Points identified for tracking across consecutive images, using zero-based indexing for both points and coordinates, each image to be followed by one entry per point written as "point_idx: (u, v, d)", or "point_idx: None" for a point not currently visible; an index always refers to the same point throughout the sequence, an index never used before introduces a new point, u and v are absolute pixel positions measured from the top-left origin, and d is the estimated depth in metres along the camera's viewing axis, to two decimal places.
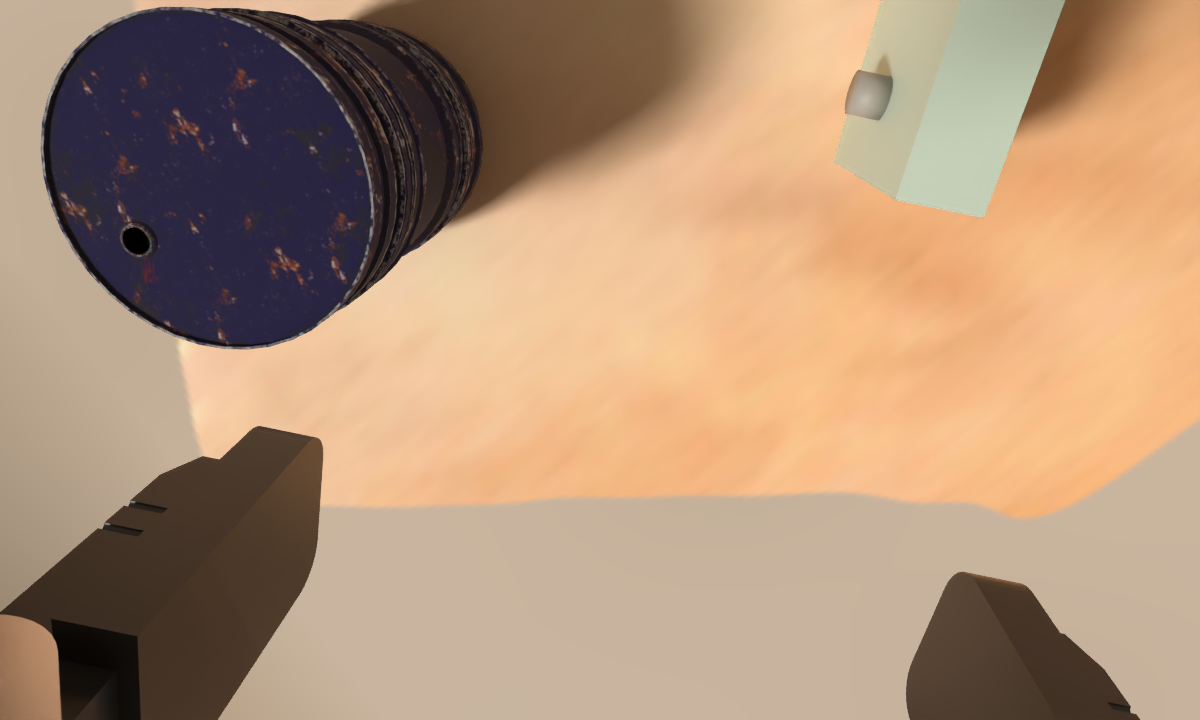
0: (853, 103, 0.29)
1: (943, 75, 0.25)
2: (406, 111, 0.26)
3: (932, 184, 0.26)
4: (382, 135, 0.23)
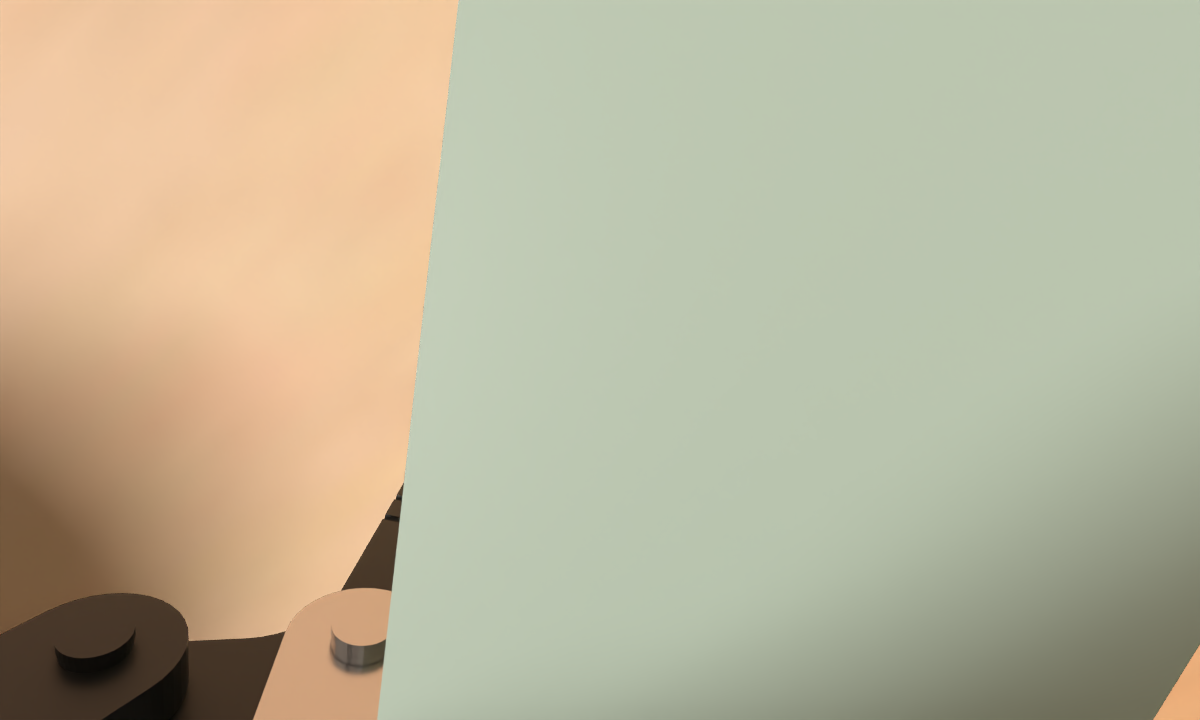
0: None
1: None
2: None
3: None
4: None
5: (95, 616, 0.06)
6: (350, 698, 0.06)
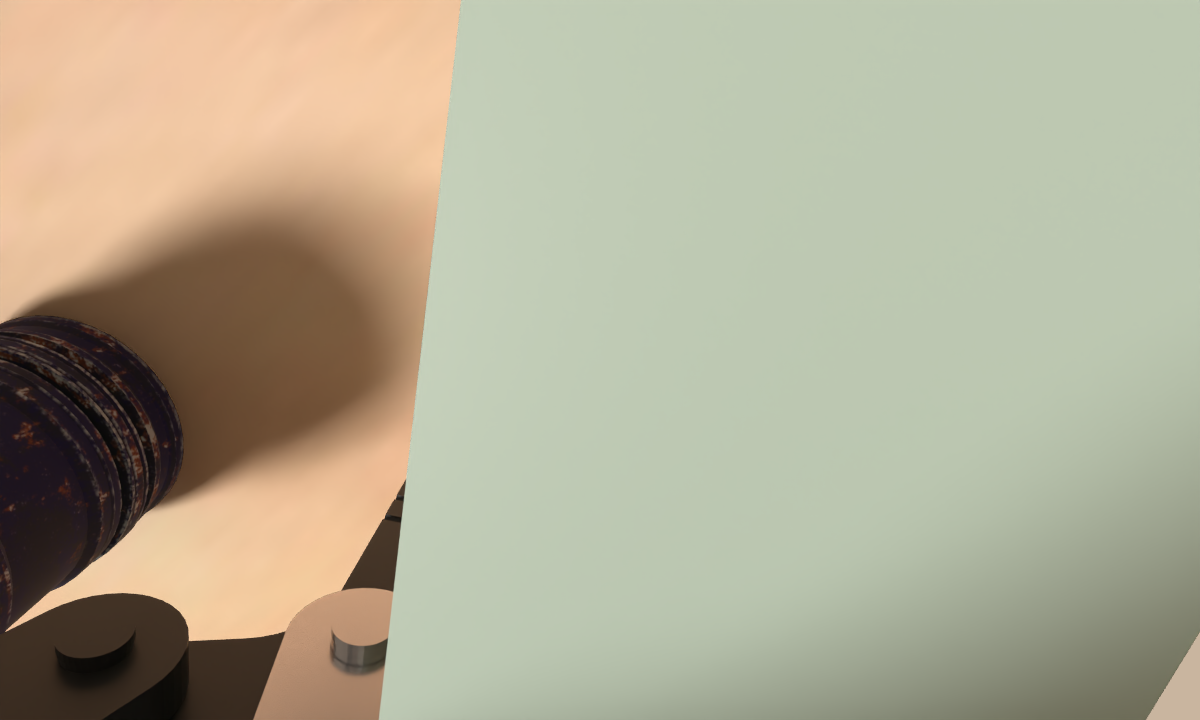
0: None
1: None
2: None
3: None
4: None
5: (95, 616, 0.06)
6: (350, 698, 0.06)
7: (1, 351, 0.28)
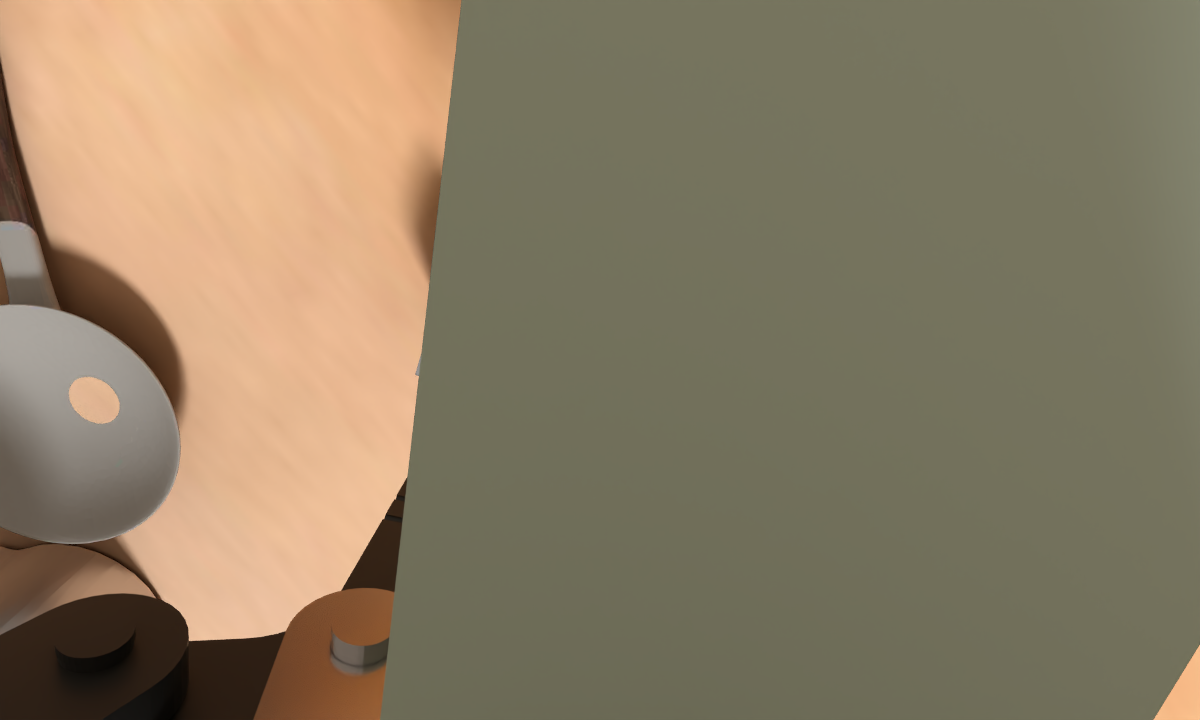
0: None
1: None
2: None
3: None
4: None
5: (96, 616, 0.06)
6: (351, 700, 0.06)
7: None
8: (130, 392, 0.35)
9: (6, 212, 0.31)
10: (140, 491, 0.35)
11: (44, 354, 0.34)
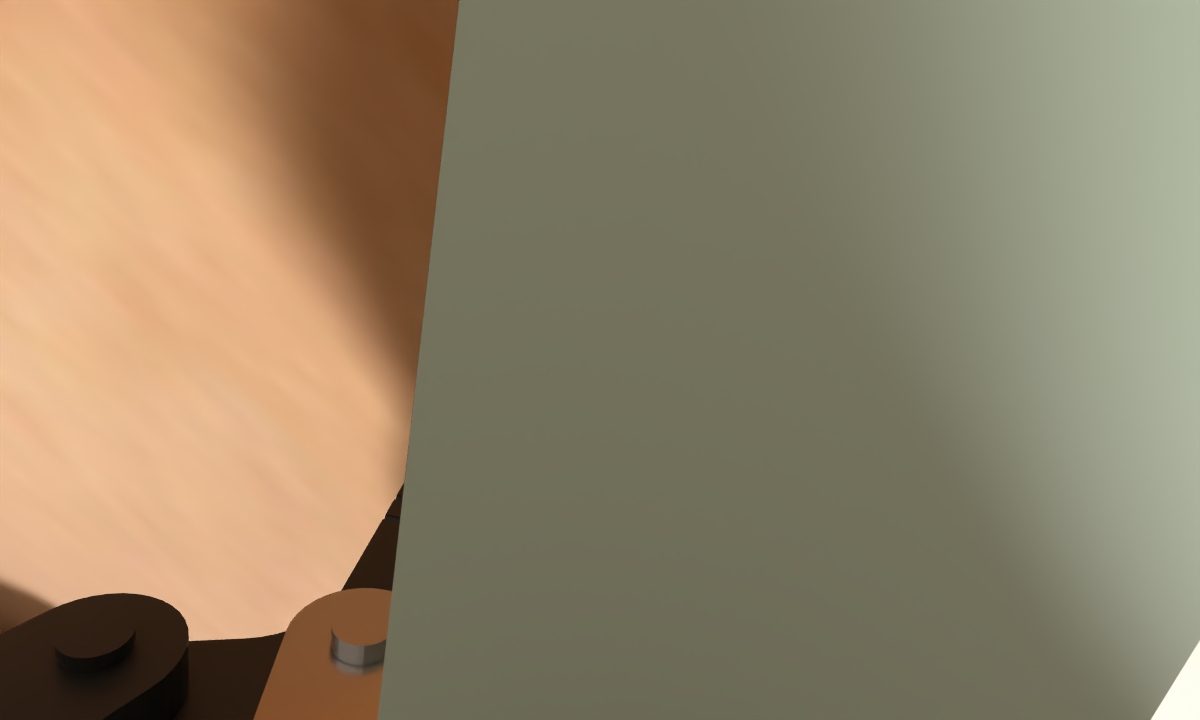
0: None
1: None
2: None
3: None
4: None
5: (96, 617, 0.06)
6: (351, 698, 0.06)
7: None
8: None
9: None
10: None
11: None
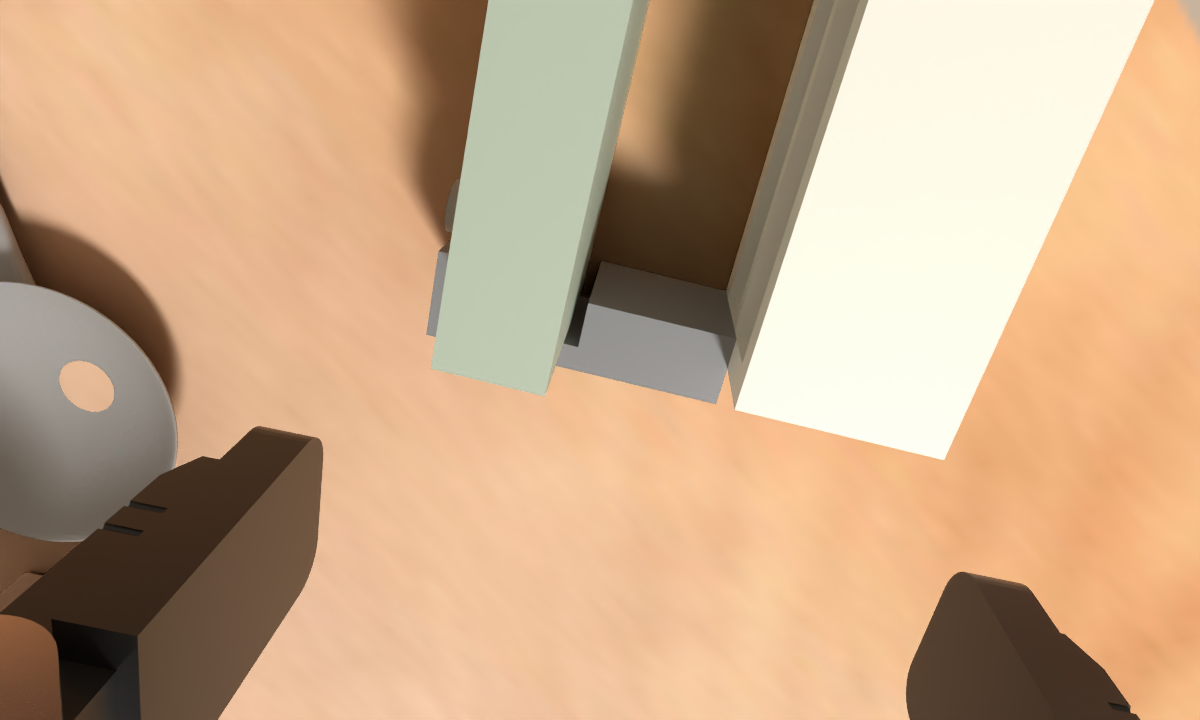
0: None
1: (463, 220, 0.19)
2: None
3: (474, 352, 0.20)
4: None
5: None
6: None
7: None
8: (122, 374, 0.32)
9: None
10: (143, 479, 0.32)
11: (28, 339, 0.32)
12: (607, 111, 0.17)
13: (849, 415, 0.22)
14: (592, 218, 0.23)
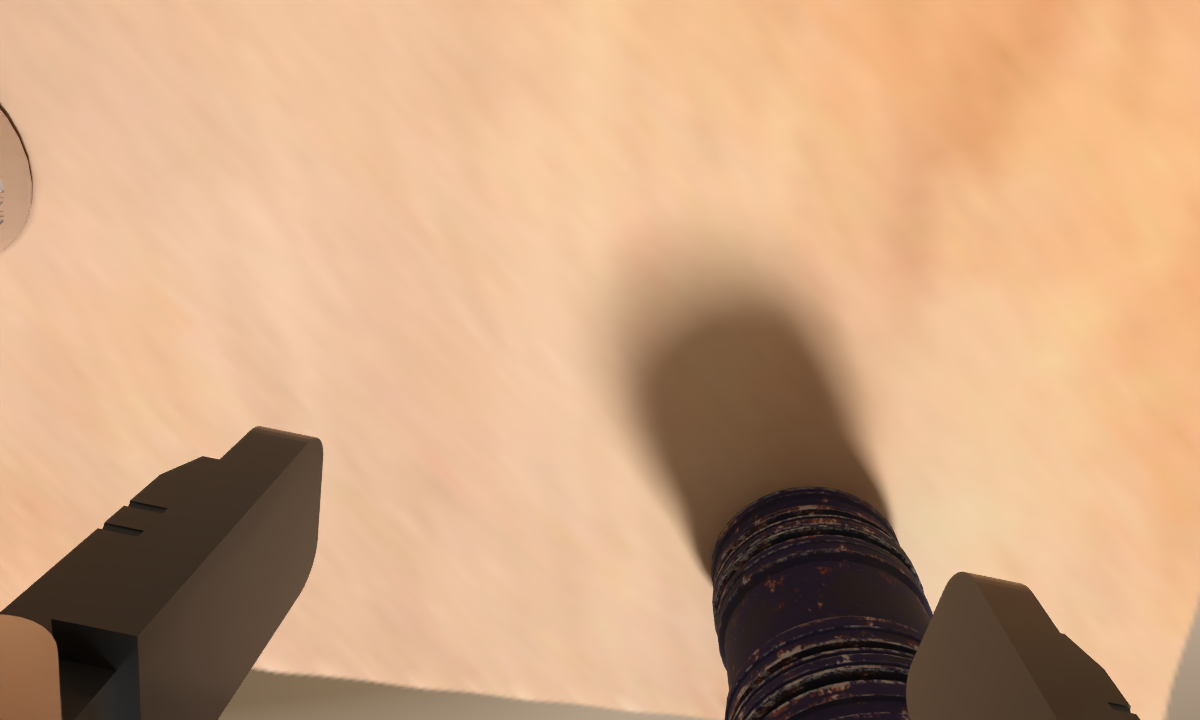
0: None
1: None
2: (813, 632, 0.30)
3: None
4: (843, 688, 0.27)
5: None
6: None
7: (720, 590, 0.37)
8: None
9: None
10: None
11: None
12: None
13: None
14: None
